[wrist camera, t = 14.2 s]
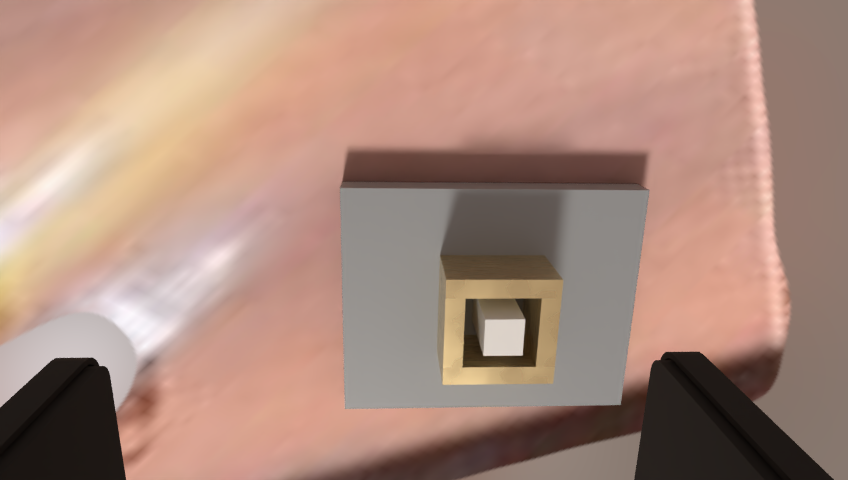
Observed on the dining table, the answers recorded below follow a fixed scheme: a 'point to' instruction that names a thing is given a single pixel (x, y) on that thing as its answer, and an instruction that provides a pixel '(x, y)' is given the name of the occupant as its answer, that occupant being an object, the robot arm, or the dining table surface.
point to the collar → (498, 281)
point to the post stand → (487, 318)
